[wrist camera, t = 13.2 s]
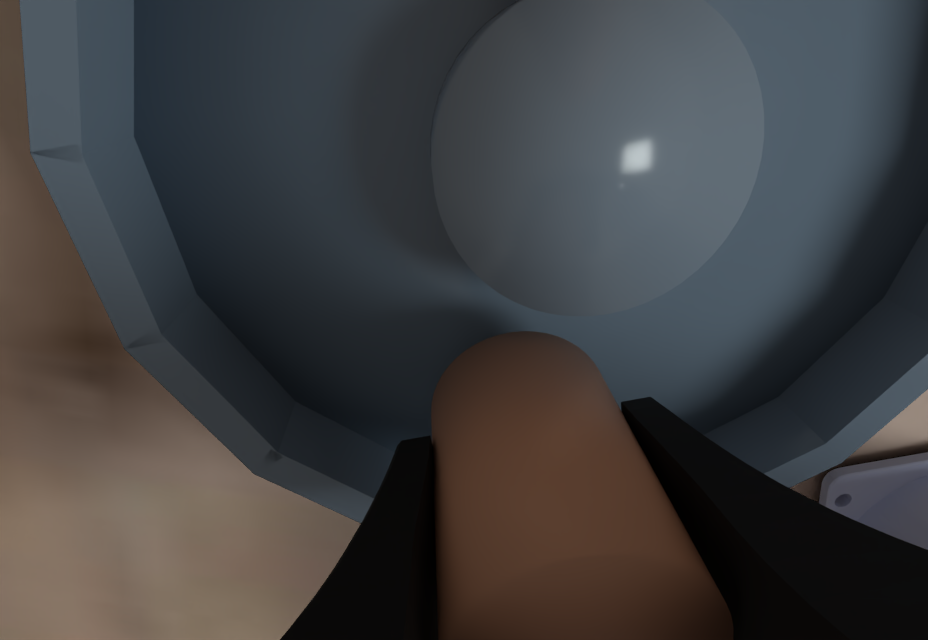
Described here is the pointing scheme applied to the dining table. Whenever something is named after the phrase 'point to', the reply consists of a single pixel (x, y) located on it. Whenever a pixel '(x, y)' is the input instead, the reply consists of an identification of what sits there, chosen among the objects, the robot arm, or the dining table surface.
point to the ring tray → (496, 209)
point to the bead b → (555, 508)
